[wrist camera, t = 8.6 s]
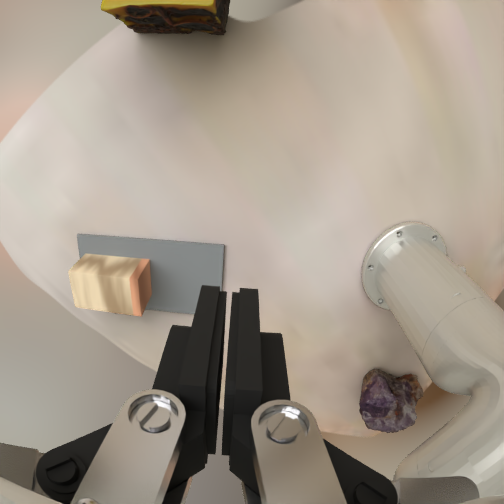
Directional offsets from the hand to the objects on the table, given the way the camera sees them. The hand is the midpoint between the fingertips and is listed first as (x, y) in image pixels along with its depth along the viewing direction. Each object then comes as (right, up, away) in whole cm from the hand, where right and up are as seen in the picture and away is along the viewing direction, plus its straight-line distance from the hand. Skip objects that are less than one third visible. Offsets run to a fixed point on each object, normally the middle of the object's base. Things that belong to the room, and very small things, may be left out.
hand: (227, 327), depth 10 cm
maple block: (-12, -2, +27) cm, 30 cm away
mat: (-12, -1, +30) cm, 32 cm away
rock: (+23, -20, +40) cm, 50 cm away
